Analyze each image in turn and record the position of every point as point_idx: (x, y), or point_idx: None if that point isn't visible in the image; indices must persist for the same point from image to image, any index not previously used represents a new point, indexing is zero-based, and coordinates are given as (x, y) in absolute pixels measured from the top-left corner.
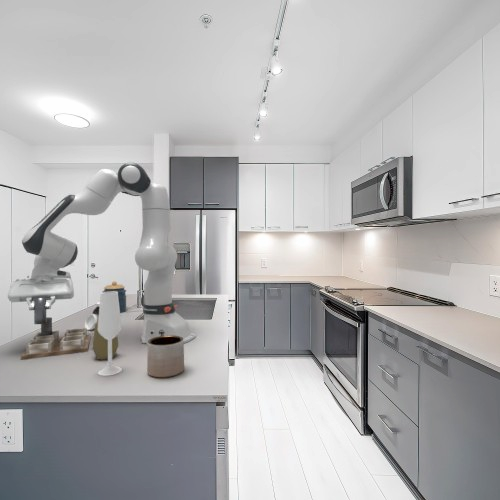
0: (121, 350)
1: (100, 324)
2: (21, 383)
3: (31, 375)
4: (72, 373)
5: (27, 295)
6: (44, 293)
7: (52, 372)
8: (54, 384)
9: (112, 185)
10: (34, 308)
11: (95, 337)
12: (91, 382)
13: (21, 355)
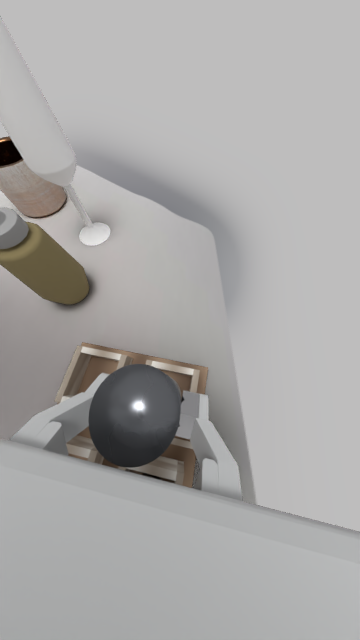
0: (35, 311)
1: (64, 134)
2: (197, 251)
3: (186, 272)
4: (137, 250)
5: (243, 504)
6: (72, 479)
7: (160, 268)
8: (162, 229)
9: None
10: (179, 391)
11: (67, 256)
12: (125, 215)
13: (207, 371)
